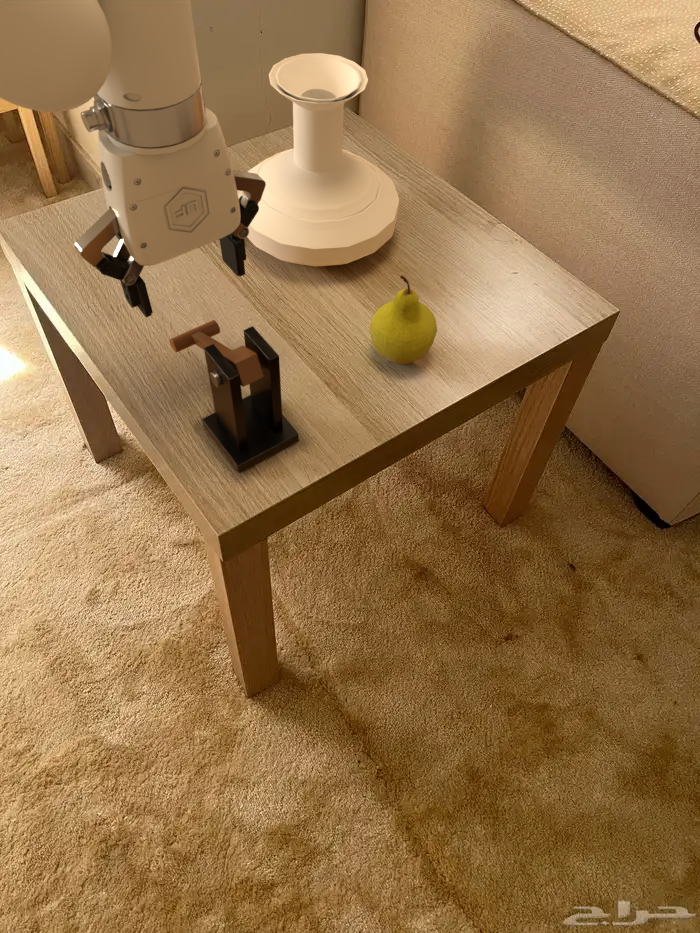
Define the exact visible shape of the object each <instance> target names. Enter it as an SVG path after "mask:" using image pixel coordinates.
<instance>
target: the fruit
mask: <svg viewBox="0 0 700 933" xmlns="http://www.w3.org/2000/svg"><path fill="white" fill-rule="evenodd" d="M399 278H400V279H401V280H403V282H404V283H405V284H406V285H407V288H405V287H404V288H402V289H400V290H398V291H397V293H396V295H395V296H394V298H393V300H390V301H388V302H387V303H385V304H383V305H381V306H380V307H379V308H378V309H377V310H376V312H375V313H374V315H373V316H372V318H371V321H370V324H369V334H370V340H371V344H372V345H373V347H374V350H375V351H376V352H377V353H378V354H379V355H380V356H381V357H383V358H384V359H385V360H388V361H390V362H392V363H395V364H396V365H397V364H398V365H409V364H411V363H415V362H416V361H418V360H419V359H420V358H422V357H423V356H425V355H426V353H428V351H429V350H430V348H431V347H432V346H433V344H434V341H435V338H436V335H437V333H438V325H437V320H436V317H435V315H434V313H433V311H432V310H431V309H430V308H429V307H428V306H427V305H426V304H425V303H422V302H421V301H420V300H419V299H420V298H419V295H418V294H417V292H416V291H415V290H413V289H412V288H411V287H410V283H409V281H408V279H407V278H406V277H405V276H404V275H400V276H399Z"/></svg>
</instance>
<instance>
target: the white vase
mask: <svg viewBox="0 0 700 933" xmlns="http://www.w3.org/2000/svg"><path fill="white" fill-rule="evenodd" d="M268 79H269V85H270V86H271V87H273V89H275V90H276V91H277V92H278V93H279V94H280V95H282V96H283V97H285V98H286V99H287V100H289V101H291V102H292V126H293V130H292V131H293V132H292V133H293V148H290V149H289V148H288V149H286V150H284V151H280V152H277V153H275V154H273V155H272V156H270V157H267V158H266V159H265V158H264V160H262V161H261V162H259V163H258V164H256V165H255V166H253V167H252V168H250V169H249V170H247V172H249V173H256V174H258V175H259V176H260V177H261V178H262V179H263V180H264V181H265V183H266V186H265V189H264V192H263V195H262V197H261V200H260V202H259V203H258V206H259V211H258V212H257V214H256V216H255V217H254V219H253V220H252V222H251V223H250V225H249V226H248V229H249V234H248V236H247V237H246V238H247V239H248V240H249V242H251V243H252V245H253V246H254V247H256V248H257V249H259V250H260V251H263V252H264V253H267V254H269V255H270V256H272V257H274V258H275V259H278V260H280V261H282V262H287V263H291V264H296V265H303V266H308V267H314V268H317V267H329V266H341V265H347V264H349V263H352V262H354V261H357V260H360V259H361V258H364V257H366V256H369V255H372V254H374V253H376V252H377V251H378V250H379V249H381V247H382V246H383V245H385V244H386V243H387V242H388V241H389V240H390V239H391V238H392V237H394V232H395V228H396V225H397V221H398V215H399V209H400V208H399V206H400V198H399V194H398V191H397V188H396V185H395V181H394V180H392V178H390V177H389V176H388V175H387V174H386V173H385V172H383V171H382V170H381V169H380V168H379V167H378V166H376V165H375V164H374V163H371V162H369V161H368V160H367V159H365V158H363V157H361V156H359V155H357V154H355V153H353V152H351V151H348V150H346V149H343V136H344V135H343V134H344V130H343V129H344V110H345V103H346V102H348V101H350V100H351V99H353V98H355V97H356V96H358V95H359V94H360V93H362V92H363V91H364V90H366V87H367V84H368V82H369V78H368V75H367V71H366V69H365V68H363V67H362V66H360V65H359V64H358V63H356V62H355V61H353V60H351V59H348V58H347V57H344V56H342V55H336V54H330V53H323V52H317V53H313V52H311V53H299V54H296V55H292V56H289V57H285V58H284V59H282V60H280V61H279V62H276V63H275V64H273V65H272V67H271V69H270V71H269V73H268ZM237 193H238V199H239V198H240V197H241V196H242V195H243V194H242V193H243V191H239V190H237Z"/></svg>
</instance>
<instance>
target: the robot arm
mask: <svg viewBox="0 0 700 933" xmlns="http://www.w3.org/2000/svg"><path fill="white" fill-rule="evenodd" d="M197 46H198V45H197V39H196V33H195V24H194V18H193V10H192V2H191V0H0V99H2V100H4V101H6V102H8V103H10V104H13V105H15V106H18V107H20V108H25V109H28V110H32V111H35V112H42V113H60V112H67V111H70V110H74V109H78V108H79V107H81V106H83V105H85V104H87V103H89V101H91V99H93V106H90V107H89V109H87V110H84V111H81V112H80V118H81V121H82V124H83V126H84V128H85V129H86V131H87V132H88V133H92V132H95V131H98V133H97V136H98V138H97V139H98V140H97V142H98V158H99V160H98V161H99V170H100V176H101V183H102V189H103V193H104V199H105V204H106V208H107V210H106V211H105V212H104V213H103V214H102V215H101V216H100V218H98V219H97V220H96V221H95V223H93V224H92V225H91V226H90V227H89V228H88V229H87V230H86V231H85V232H84V233H83V234H82V235H81V236H80V237H79V238H78V239H77V240H76V241H75V242H74V245H73V246H74V250H76V252H77V253H78V254H79V255H80V257H81V258H82V259H83V260H84V261H86V262H87V263H88V264H90V265H91V266H92V267H93V268H95V269H97V270H98V271H99V272H100V274H101V275H104V276H107V277H109V278H113V279H114V280H118V281H120V284H121V288H122V291H123V295H124V297H125V300H126V301H127V303H128V305H129V306H130V307H131V308H132V309H134V308H136V307H137V308H138V309H139V311H140V312H141V314H143V316H144V317H145V318H148V317H151V316H153V315H152V314H153V313H154V311H153V308H152V304H151V300H150V296H149V292H148V288H147V285H146V282H145V280H144V279H143V278H142V277H141V276H140V275H141V273H142V271H143V269H144V267H150V266H155V265H159V264H161V263H164V262H167V261H169V260H172V259H175V258H177V257H179V256H181V255H185V254H187V253H189V252H192V251H194V250H196V249H199V248H201V247H204V246H206V245H209V244H211V243H213V242H216V241H218V240H219V246H220V251H221V259H222V261H223V263H225V265H226V266H227V267H228V268H229V269H230V270H231V271H232V272H233V273H234V274H235V275H236V276H237V277H240V278H241V277H243V276H245V275H246V268H245V261H246V260H247V252H246V243H245V239H246V238H247V236H248V234H249V229H248V226H249V225H250V223H251V222H252V220H253V219H254V217H255V216H256V214H257V212H258V211H259V206H258V203H259V202H260V200H261V197H262V195H263V192H264V189H265V186H266V183H265V181H264V180H263V179H262V178H261V177H260V176H259V175H258V174H256V173H249V172H248V171H242V170H236V169H233V164H232V161H231V158H230V154H229V150H228V146H227V144H226V140H225V136H224V134H223V130H222V127H221V125H220V122H219V119H218V117H217V115H216V114H215V113H214V112H213V111H212V110H210V109H209V108H207V107H206V103H205V94H204V88H203V80H202V76H201V69H200V63H199V54H198V48H197ZM237 190H239V191H243V193H242V194H243V195H242V196H241V197H240V198H239V199H238V193H237ZM231 209H232V210H231ZM115 237H116V239H118V240H119V241H118V243H117V246H116V248H115V249H114V252H113V254H109V253H107V252H103V251H102V250H103V249H104V247H105V246H107V244H109V242H111V241H112V240H113V239H114V238H115Z"/></svg>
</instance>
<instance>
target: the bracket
mask: <svg viewBox="0 0 700 933" xmlns="http://www.w3.org/2000/svg"><path fill="white" fill-rule="evenodd" d="M243 338H244V346H245V347H247V348H248V349H250V350H252V351H253V352H255V353H257V356H258V359H259V362H260V365H261V368H262V372H263V375H264V377H263V378H261V379H259V380H257V381H255V382H252V383H250V384H248V385H249V392H250V393H249V394H250V395H248V396H246V397H244V398H243V394H242V393H243V392H242V386H241V384H240V376H239V374H238V373H237V371H236V370H235V369H234V368H233V367H232V365H231V364H230V363H229V362H228V361H227V359H226V358H225V357H224V356H223V355H222V353H221V352H220V351H219V350H218V348H217V347H216V346H215V345H214V344H212V345H210V346H208V347H205V348H204V350H203V351H204V357H205V358H204V359H205V362H206V369H207V374H208V380H209V386H210V391H211V396H212V402H213V408H214V412H213V413H211V414H209V415H207V416H205V417H203V418H201V422H202V427H203V428H204V429H205V431H206V432H207V433H208V435H209V436H210V438H212V440H213V441H214V442H215V444H216V445H217V447H218V448H219V449H220V450H221V452H222V453H223V455H224V456H225V457H226V458H227V460H228V461H229V462H230V463H231V465H232V467H233V468H234V469H235V471H236V472H237V473H238V474H241V473H242V472H244V471H246V470H248V469H250V468H251V467H253V466H255V465H257V464H258V463H260V462H262V461H264V460H267V459H269V458H270V457H272V456H274V455H275V454H277V453H279V452H281V451H283V450H285V449H287V448H288V447H290V446H292V445H295V444H296V443H297V442H299V441H300V437H299V436H300V435H299V433H298V432H297V430H296V429H295V428H294V426H293V425H292V424H291V423H290V422H289V421H288V419H287V418H286V417H285V416H284V415H283V404H282V403H283V402H282V387H281V367H280V366H281V364H280V355H279V354H278V352H276V350H275V349H274V348H273V347H272V346H271V345H270V344H269V343H268V341H266V340H265V338H264V337H263V336H262V335H261V334H260V332H258V330H257V329H256V328H255V327H254V326H253V325H252V326H250V327H248V328H245V329H243Z"/></svg>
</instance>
